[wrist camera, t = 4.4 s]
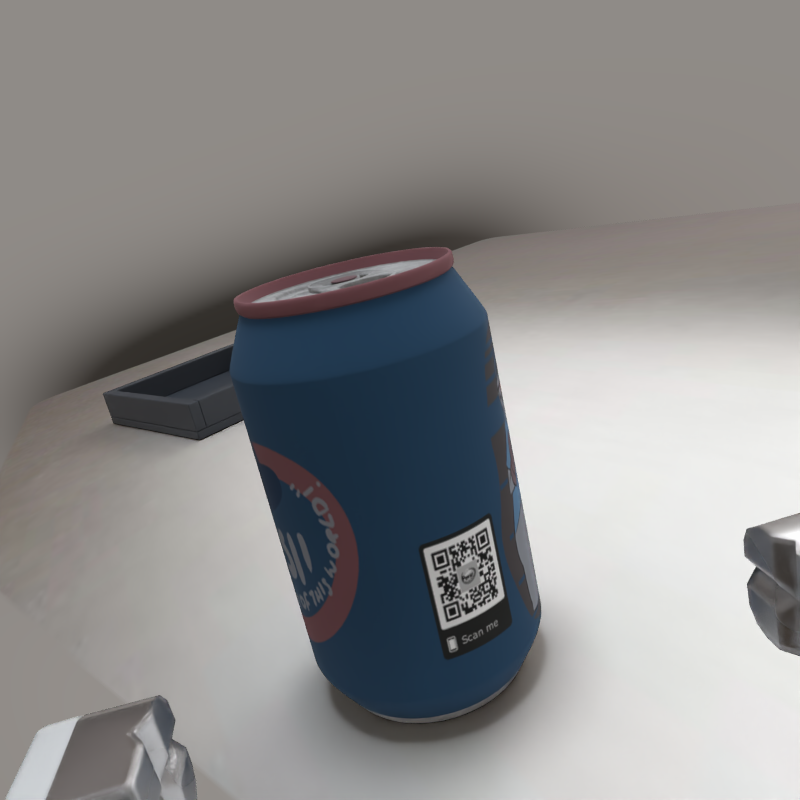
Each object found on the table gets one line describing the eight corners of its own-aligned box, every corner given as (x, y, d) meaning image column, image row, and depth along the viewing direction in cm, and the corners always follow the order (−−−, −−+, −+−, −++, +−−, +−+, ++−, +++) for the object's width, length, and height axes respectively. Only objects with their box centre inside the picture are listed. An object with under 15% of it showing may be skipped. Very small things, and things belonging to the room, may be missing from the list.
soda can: (295, 650, 24) (186, 300, 20) (469, 566, 26) (399, 242, 23) (383, 788, 18) (249, 321, 14) (598, 660, 20) (531, 238, 17)
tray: (199, 440, 48) (188, 404, 48) (113, 423, 58) (102, 393, 57) (343, 372, 57) (336, 341, 56) (248, 367, 67) (240, 340, 66)
